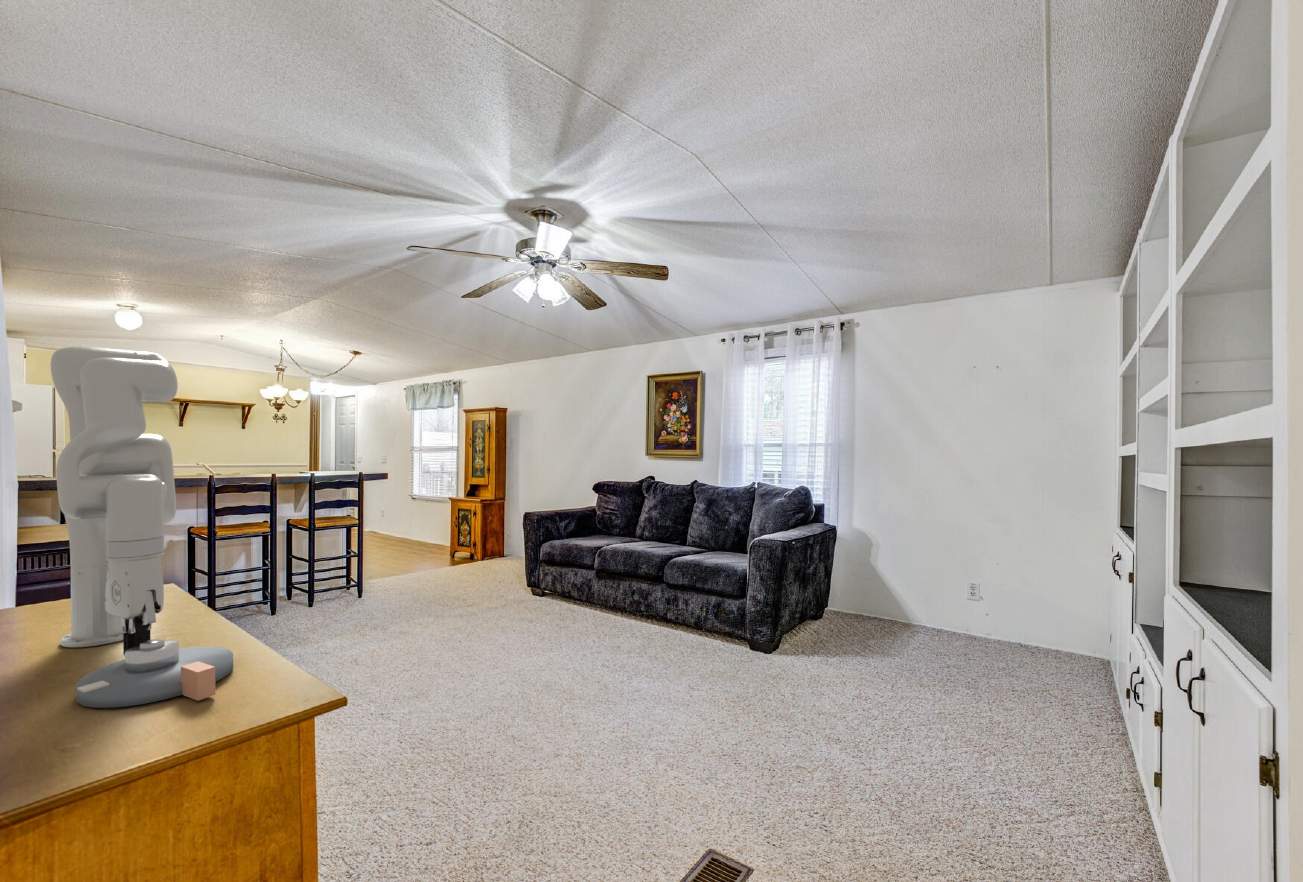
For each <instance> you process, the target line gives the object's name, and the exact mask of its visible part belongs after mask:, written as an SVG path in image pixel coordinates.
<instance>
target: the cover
mask: <svg viewBox="0 0 1303 882" xmlns="http://www.w3.org/2000/svg"><path fill="white" fill-rule="evenodd" d="M165 639H166V638H153V639H152V638H151V639H150V640H147V641H144V642H142V643H140V645H139V646H135V647H133V648H130V649H128V650H127V651H125V656H124V660H125V672H126V673H130V674H138V673H147V672H153V671H157V670H161V669H165V668H168V667H170V666H173V665H175V664H176V663H178V662H179V648H180V642H179V641H176V640H165Z"/></svg>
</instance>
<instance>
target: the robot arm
mask: <svg viewBox="0 0 1303 882" xmlns="http://www.w3.org/2000/svg"><path fill="white" fill-rule="evenodd" d="M50 373H51V378H52V383H53V385H54V388H55V389H56V392H57V394H58V396H59V397H60V399H61V401H62V404H63V405H64V407H65V409H66V412H67V415H68V424H69V425H68V427H69V442H68V443H67V444H66V445H65V447H64V448H63V449H62V450H61V452H60V455H59V456H58V458H57V463H56V470H55V475H56V478H55V479H56V489H57V490H56V491H57V501H58V505H59V508H60V511H61V512H62V514H63V516H64V519H65V523H66V528H67V533H68V540H69V555H70V614H71V615H70V623H71V625H70V627H71V628H70V629H71V632H70V633H68V634H66V635H64V636H62V637H61V638H60V641H59V642H60V643H59V644H60V646H62V647H65V648H72V649H73V648H86V647H87V648H88V647H89V648H90V647H95V646H102V645H107V644H112V643H116V642H121V641H123V642H122V645H123V646H122V649H123V656H124V657H125V651H127V650H128V649H130V648H133V647H135V646H139V645H140V643H142V642H144V641H147V640H151V630H152V624H154V623H156V621H157V618H156V614H159V613H161V612H162V611H163V609H164V604H165V603H164V602H165V597H164V596H165V591H164V590H165V589H164V578H163V577H164V575H163V568H162V567H163V566H162V560H161V557H162V556H164V555H165V525H166V524H168V523H170V522H171V521H173V519H174V518H175V515H176V512H177V498H176V496H177V495H176V486H175V485H176V484H175V474H174V473H175V471H174V459H173V453H172V449H171V445H170V442H169V441H168V440H167V438H165V437H164V436H162V435H159V434H155V433H145V432H146V429H147V422H146V417H145V411H144V405H143V402H147V403H148V402H150V403H151V402H152V403H153V402H154V403H168V402H171V401H172V400H173V399H175V397H176V396H177V393H178V385H179V384H178V378H177V374H176V372H175V369H174V368H173V366H172V365H171V363H170V362H169V361H168V360H167V359H165V358H164V357H163V356H161V355H160V354H158V353H156V352H149V351H141V350H128V349H116V348H107V347H95V346H66V347H61V348H59V349H56V350H55V351H54V352H53V354H52V355H51V358H50Z"/></svg>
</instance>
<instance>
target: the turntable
mask: <svg viewBox="0 0 1303 882" xmlns="http://www.w3.org/2000/svg"><path fill="white" fill-rule="evenodd" d="M233 669H234V653H233V652H232V650H230V649H228V648H225V647H219V646H190V647H179V662H178V663H176V664H175V665H173V666H170V667H168V668H165V669H161V670H157V671H153V672H147V673H138V674H130V673H126V672H125V659H122V660H120V661H116V662H113V663H110V664H108V665H105V666H102V667H100V668H98V669H95V670H93V671H91V672H89V673H88V674H86V675H84V676H83V677H81V678H80V679H79V680H78V681H77V683H76V684H75V688H76V690H75V691H76V692H75V693H76V696H75V697H76V698H75V699H76V702H77V703H78V704H80V705H82V706H84V707H89V708H98V709H99V708H103V709H105V708H106V709H108V708H121V707H123V708H124V707H130V706H138V705H145V704H149V703H150V704H151V703H153V702H154V703H155V702H158V701H162V700H168V699H172V698H175V697H180V696H184V697H188V698H189V699H192V700H195V701H202V700H204V699H207V698H210V697H212V696H215V695H216V682H218V681H220V680H222V679H223V678H225V677H226V676H228V675H229V674H230V673H231V672H232V670H233Z"/></svg>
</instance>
